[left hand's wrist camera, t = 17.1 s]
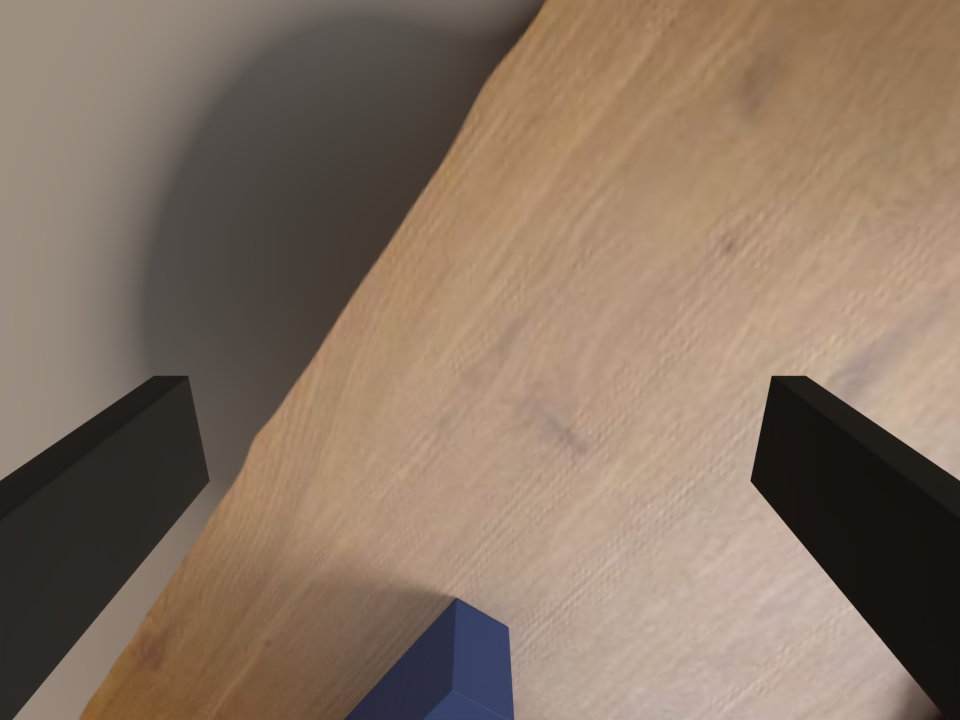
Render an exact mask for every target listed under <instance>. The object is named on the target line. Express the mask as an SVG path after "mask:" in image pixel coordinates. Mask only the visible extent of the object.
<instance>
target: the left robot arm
mask: <svg viewBox="0 0 960 720" xmlns="http://www.w3.org/2000/svg"><path fill="white" fill-rule="evenodd" d="M208 482H209V476H208V471H207V466H206V461H205V456H204V451H203V446H202V441H201V436H200V432H199V427H198V422H197V417H196V412H195V407H194V402H193V397H192V392H191V387H190V382H189V377H188V376H153V377H152V378H150V379H149V380H147V381H146V382H144V383H143V384H142V385H140V386H139V387H137V388H136V389H134V390H133V391H131V392H130V393H128V394H127V395H125V396H124V397H123V398H121V399H119V400H118V401H117V402H115V403H114V404H112V405H111V406H109V407H108V408H106V409H105V410H103V411H102V412H100V413H99V414H97V415H96V416H95V417H93V418H92V419H90V420H89V421H87V422H86V423H84V424H83V425H81V426H80V427H78V428H77V429H76V430H74V431H73V432H71V433H70V434H68V435H67V436H65V437H64V438H62V439H61V440H59V441H58V442H56V443H55V444H54V445H52V446H51V447H49V448H48V449H46V450H45V451H43V452H42V453H40V454H39V455H37V456H36V457H34V458H33V459H32V460H30V461H29V462H27V463H26V464H24V465H23V466H21V467H20V468H18V469H17V470H15V471H14V472H13V473H11V474H10V475H8V476H7V477H5V478H4V479H2V480H1V481H0V720H12V719H13V718H14V717H15V716H16V715H17V713H18V712H19V711H20V710H21V709H22V707H23V706H24V705H25V704H26V703H27V701H28V700H29V699H30V698H31V696H32V695H33V694H34V693H35V692H36V690H37V689H38V688H39V687H40V686H41V684H42V683H43V682H44V681H45V680H46V678H47V677H48V676H49V675H50V674H51V672H52V671H53V670H54V669H55V668H56V666H57V665H58V664H59V663H60V661H61V660H62V659H63V658H64V657H65V655H66V654H67V653H68V652H69V651H70V649H71V648H72V647H73V646H74V645H75V643H76V642H77V641H78V640H79V638H80V637H81V636H82V635H83V634H84V632H85V631H86V630H87V629H88V628H89V626H90V625H91V624H92V623H93V622H94V620H95V619H96V618H97V617H98V615H99V614H100V613H101V612H102V610H103V609H104V608H105V607H106V606H107V605H108V603H109V602H110V601H111V600H112V599H113V597H114V596H115V595H116V594H117V592H118V591H119V590H120V589H121V588H122V586H123V585H124V584H125V583H126V582H127V580H128V579H129V578H130V577H131V576H132V574H133V573H134V572H135V571H136V569H137V568H138V567H139V566H140V565H141V563H142V562H143V561H144V560H145V559H146V557H147V556H148V555H149V554H150V553H151V551H152V550H153V549H154V548H155V546H156V545H157V544H158V543H159V542H160V540H161V539H162V538H163V537H164V536H165V534H166V533H167V532H168V531H169V530H170V528H171V527H172V526H173V525H174V523H175V522H176V521H177V520H178V519H179V517H180V516H181V515H182V514H183V512H184V511H185V510H186V509H187V508H188V506H189V505H190V504H191V503H192V502H193V500H194V499H195V498H196V497H197V496H198V494H199V493H200V492H201V491H202V490H203V488H204V487H205V486H206V485H207V484H208ZM751 482H752V484H753V485H754V486H755V487H756V488H757V490H758V491H759V492H760V493H761V494H762V496H763V497H764V498H765V499H766V500H767V502H768V503H769V504H770V505H771V507H772V508H773V509H774V510H775V511H776V513H777V514H778V515H779V516H780V517H781V519H782V520H783V521H784V522H785V523H786V525H787V526H788V527H789V528H790V530H791V531H792V532H793V533H794V534H795V536H796V537H797V538H798V539H799V540H800V542H801V543H802V544H803V545H804V546H805V548H806V549H807V550H808V551H809V553H810V554H811V555H812V556H813V557H814V559H815V560H816V561H817V562H818V563H819V565H820V566H821V567H822V568H823V569H824V571H825V572H826V573H827V574H828V576H829V577H830V578H831V579H832V580H833V582H834V583H835V584H836V585H837V586H838V588H839V589H840V590H841V591H842V592H843V594H844V595H845V596H846V597H847V599H848V600H849V601H850V602H851V603H852V605H853V606H854V607H855V608H856V609H857V611H858V612H859V613H860V614H861V615H862V617H863V618H864V619H865V620H866V622H867V623H868V624H869V625H870V626H871V628H872V629H873V630H874V631H875V632H876V634H877V635H878V636H879V637H880V638H881V640H882V641H883V642H884V643H885V645H886V646H887V647H888V648H889V649H890V651H891V652H892V653H893V654H894V655H895V657H896V658H897V659H898V660H899V661H900V663H901V664H902V665H903V666H904V668H905V669H906V670H907V671H908V672H909V674H910V675H911V676H912V677H913V678H914V680H915V681H916V682H917V683H918V684H919V686H920V687H921V688H922V689H923V691H924V692H925V693H926V694H927V695H928V697H929V698H930V699H931V700H932V701H933V703H934V704H935V705H936V706H937V707H938V709H939V710H940V711H941V712H942V714H943V715H944V716H945V717H946V718H947V720H960V481H959V480H958V479H956V478H955V477H953V476H952V475H950V474H949V473H948V472H946V471H945V470H943V469H942V468H940V467H939V466H937V465H936V464H934V463H933V462H931V461H930V460H928V459H927V458H926V457H924V456H923V455H921V454H920V453H918V452H917V451H915V450H914V449H912V448H911V447H909V446H908V445H906V444H905V443H904V442H902V441H901V440H899V439H898V438H896V437H895V436H893V435H892V434H890V433H889V432H887V431H886V430H884V429H883V428H882V427H880V426H879V425H877V424H876V423H874V422H873V421H871V420H870V419H868V418H867V417H865V416H864V415H863V414H861V413H860V412H858V411H857V410H855V409H854V408H852V407H851V406H849V405H848V404H846V403H845V402H843V401H842V400H841V399H839V398H838V397H836V396H835V395H833V394H832V393H830V392H829V391H827V390H826V389H824V388H823V387H821V386H820V385H819V384H817V383H816V382H814V381H813V380H811V379H810V378H808V377H807V376H772V377H771V382H770V387H769V392H768V397H767V402H766V407H765V412H764V417H763V422H762V427H761V431H760V436H759V441H758V446H757V451H756V456H755V461H754V466H753V471H752V476H751Z"/></svg>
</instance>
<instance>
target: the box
mask: <svg viewBox="0 0 960 720" xmlns="http://www.w3.org/2000/svg"><path fill="white" fill-rule="evenodd" d="M345 720H514V709H513V692H512V676H511V659H510V643H509V628H508V627H507V626H505V625H503V624H502V623H500V622H498V621H496V620H495V619H493V618H491V617H489V616H488V615H486V614H484V613H482V612H481V611H479V610H477V609H475V608H474V607H472V606H470V605H468V604H467V603H465V602H463V601H461V600H460V599H458V598H456V599H455V600H454V601H453V602H452V603H451V604H450V605H449V606H448V608H447V609H446V610H445V611H444V612H443V613H442V614H441V615H440V616H439V617H438V618H437V620H436V621H435V622H434V623H433V624H432V625H431V626H430V627H429V628H428V629H427V630H426V631H425V633H424V634H423V635H422V636H421V637H420V638H419V639H418V640H417V641H416V642H415V643H414V645H413V646H412V647H411V648H410V649H409V650H408V651H407V652H406V653H405V654H404V655H403V657H402V658H401V659H400V660H399V661H398V662H397V663H396V664H395V665H394V666H393V667H392V668H391V670H390V671H389V672H388V673H387V674H386V675H385V676H384V677H383V678H382V679H381V680H380V682H379V683H378V684H377V685H376V686H375V687H374V688H373V689H372V690H371V691H370V692H369V694H368V695H367V696H366V697H365V698H364V699H363V700H362V701H361V702H360V703H359V704H358V705H357V707H356V708H355V709H354V710H353V711H352V712H351V713H350V714H349V715H348V716H347V717H346V719H345Z"/></svg>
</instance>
